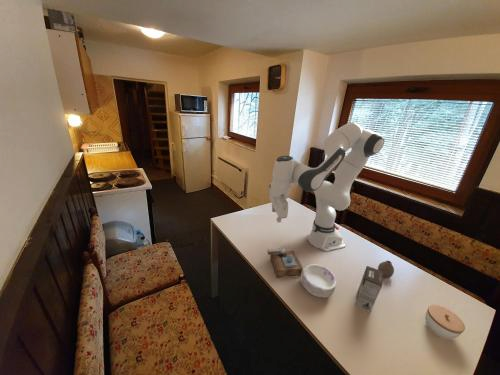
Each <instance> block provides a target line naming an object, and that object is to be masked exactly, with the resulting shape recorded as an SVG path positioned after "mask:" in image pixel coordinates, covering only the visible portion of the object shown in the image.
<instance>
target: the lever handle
mask: <svg viewBox="0 0 500 375" xmlns="http://www.w3.org/2000/svg"><path fill="white" fill-rule="evenodd" d="M285 251H287V250H286V248H285V247H280V248H270V249H269V248H268V249H267V255H268V256H271V255H276V254H280V255H281V256H284V255H285Z"/></svg>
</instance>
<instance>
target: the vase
mask: <svg viewBox="0 0 500 375" xmlns="http://www.w3.org/2000/svg"><path fill="white" fill-rule="evenodd" d="M377 270H380V271H382V272H383V279H384V278H385V279H389V278H392V276H394V273H395V267H394V266H393V264H392V262H391V261H390V260H385V261H382V262H380V263H378V265H377Z"/></svg>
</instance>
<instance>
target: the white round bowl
mask: <svg viewBox="0 0 500 375" xmlns="http://www.w3.org/2000/svg"><path fill="white" fill-rule="evenodd" d="M300 279H301V283H302V286H303V287H304V288H305V289H306V291H307V292H309V294H311V295H313V296H315V297H320V298H329V297H331V296H332V295H333V294H334V293H335V290H336V287H337V282H338V281H337V277H336V276H335V274H334V273H333V271H332V270H330V269H329V268H327V267H326V266H325V265H321V264H316V263H311V264H308V265H305V267H304V268H302V273H301V278H300Z"/></svg>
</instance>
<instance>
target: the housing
mask: <svg viewBox="0 0 500 375" xmlns="http://www.w3.org/2000/svg"><path fill="white" fill-rule="evenodd" d="M288 254H291V255H292V256H293V258H294V260H295V262H296V264H297V267H285V266H284V263H283V261H282V257H288ZM269 258H270V262H271V266H272V269H273V272H274V276H275V278H276V279H279V278H290V277H291V278H292V277H302V273H303V267H302V265H301V263H300V260H299V259H298V256H297V255H296V253H295V250H286V251H285V255H284V256H281V255H280V254H276V255H270V257H269Z"/></svg>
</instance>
